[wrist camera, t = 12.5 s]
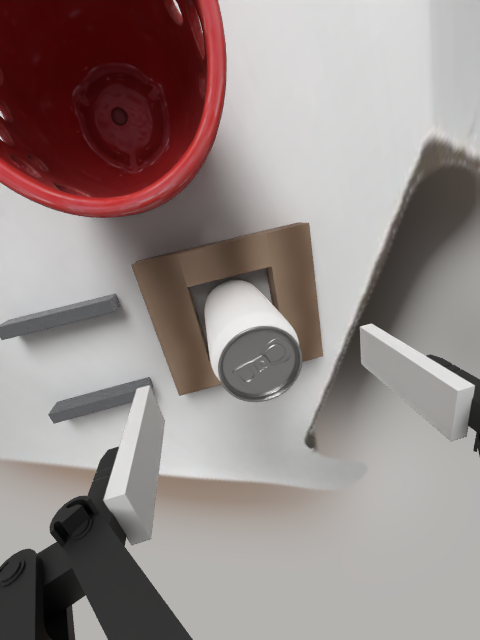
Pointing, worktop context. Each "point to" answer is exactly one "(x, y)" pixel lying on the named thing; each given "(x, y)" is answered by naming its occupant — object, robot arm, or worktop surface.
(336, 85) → the worktop surface
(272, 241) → the plate
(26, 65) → the plant pot
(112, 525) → the robot arm
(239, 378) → the can
